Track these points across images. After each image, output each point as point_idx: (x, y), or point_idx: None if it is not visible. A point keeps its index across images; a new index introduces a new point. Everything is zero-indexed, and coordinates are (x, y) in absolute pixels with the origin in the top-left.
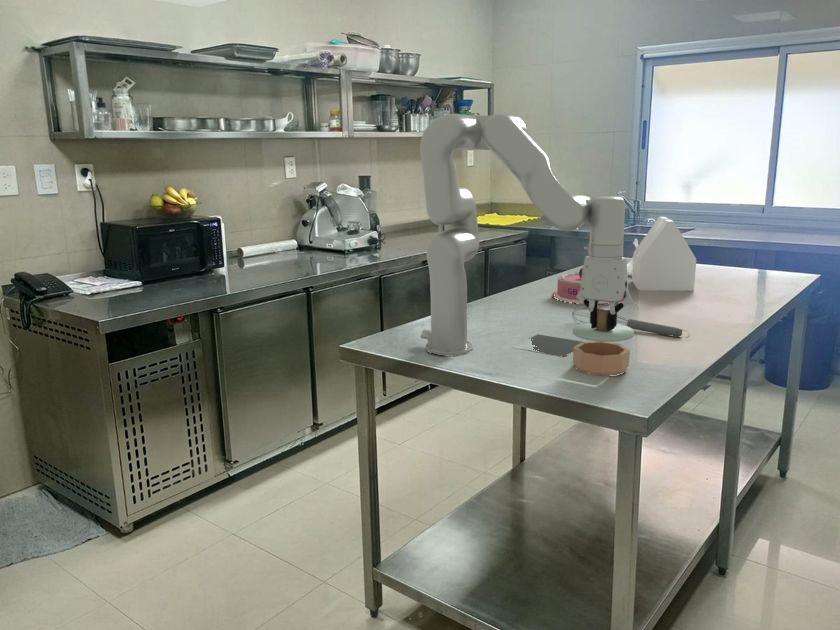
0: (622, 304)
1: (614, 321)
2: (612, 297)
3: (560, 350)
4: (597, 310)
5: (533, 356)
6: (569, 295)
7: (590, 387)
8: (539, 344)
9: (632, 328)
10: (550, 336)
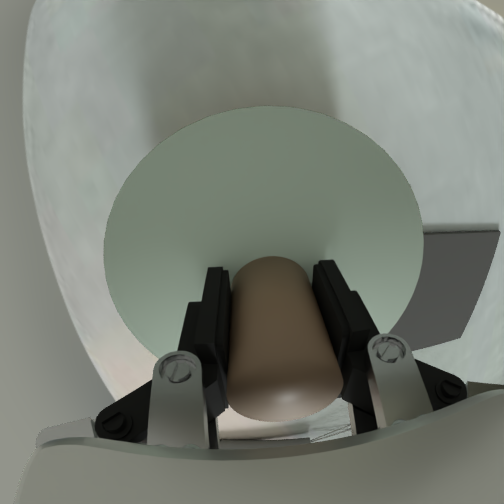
0: (99, 436)
1: (185, 325)
2: (97, 494)
3: None
4: (329, 361)
5: (458, 205)
6: None
7: (205, 28)
8: (457, 288)
9: (299, 438)
10: (438, 343)
